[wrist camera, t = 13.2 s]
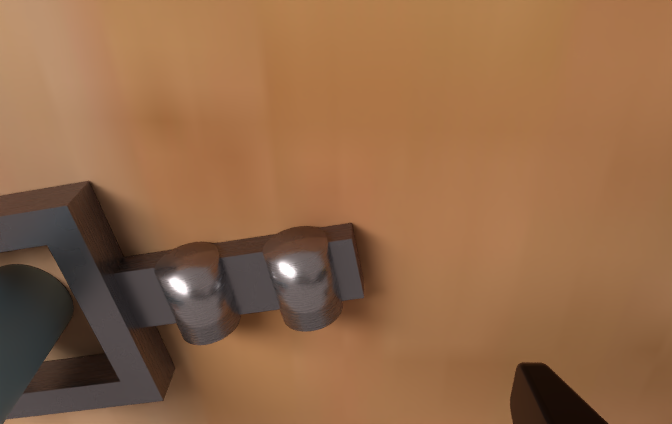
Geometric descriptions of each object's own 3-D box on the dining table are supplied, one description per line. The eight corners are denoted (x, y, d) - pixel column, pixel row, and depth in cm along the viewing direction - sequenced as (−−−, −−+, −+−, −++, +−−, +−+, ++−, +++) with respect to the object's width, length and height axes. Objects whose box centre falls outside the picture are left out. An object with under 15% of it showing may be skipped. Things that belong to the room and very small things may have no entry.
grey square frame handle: (334, 139, 21) (332, 169, 19) (376, 343, 26) (378, 385, 24) (-345, 253, 25) (-415, 290, 22) (-190, 413, 30) (-234, 456, 27)
